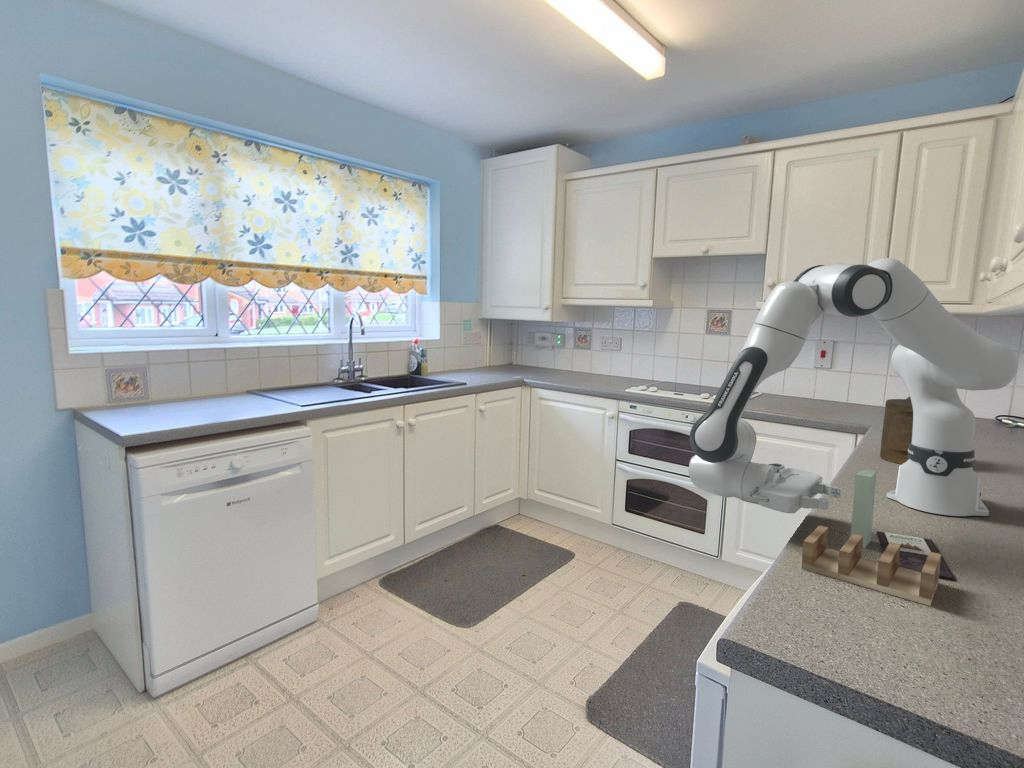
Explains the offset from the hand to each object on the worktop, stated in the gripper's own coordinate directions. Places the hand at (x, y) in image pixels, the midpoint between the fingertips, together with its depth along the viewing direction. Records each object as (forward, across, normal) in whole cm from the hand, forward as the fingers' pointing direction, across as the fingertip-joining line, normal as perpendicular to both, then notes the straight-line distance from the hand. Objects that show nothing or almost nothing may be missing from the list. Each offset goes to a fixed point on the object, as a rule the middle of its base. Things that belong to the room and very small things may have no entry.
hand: (835, 499), depth 108 cm
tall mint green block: (+5, 0, +8) cm, 9 cm away
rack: (+9, -15, +8) cm, 19 cm away
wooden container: (+2, +82, +8) cm, 82 cm away
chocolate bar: (+13, 0, +8) cm, 15 cm away
